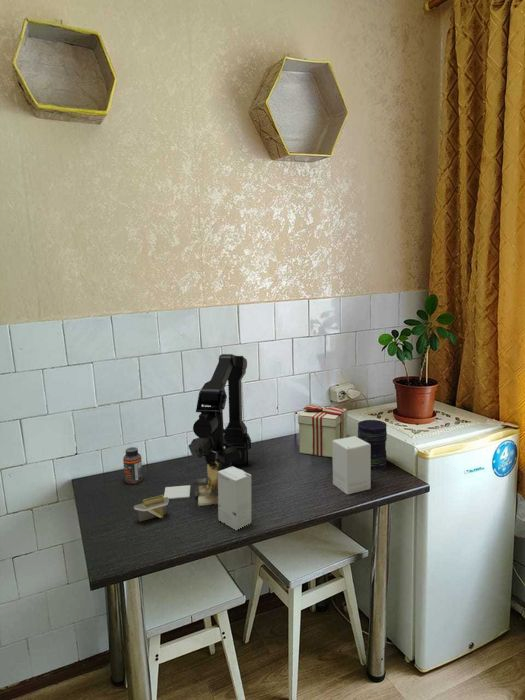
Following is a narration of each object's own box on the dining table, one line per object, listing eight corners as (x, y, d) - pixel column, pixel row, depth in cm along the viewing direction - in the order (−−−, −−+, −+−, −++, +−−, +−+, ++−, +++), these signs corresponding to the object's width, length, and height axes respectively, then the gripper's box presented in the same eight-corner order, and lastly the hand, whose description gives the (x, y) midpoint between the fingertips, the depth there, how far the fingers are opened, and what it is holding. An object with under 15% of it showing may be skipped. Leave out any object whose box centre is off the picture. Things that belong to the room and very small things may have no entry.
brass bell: (224, 478, 161) (223, 456, 160) (235, 483, 157) (234, 461, 155) (198, 487, 154) (197, 465, 153) (209, 493, 150) (208, 470, 149)
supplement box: (371, 489, 156) (371, 444, 154) (347, 495, 153) (346, 449, 150) (355, 478, 164) (355, 435, 162) (332, 483, 161) (331, 439, 158)
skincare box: (218, 521, 140) (215, 471, 138) (234, 513, 144) (232, 464, 142) (237, 531, 134) (234, 480, 132) (253, 523, 138) (251, 473, 136)
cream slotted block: (238, 484, 163) (238, 469, 162) (241, 502, 151) (240, 485, 150) (195, 488, 161) (194, 472, 160) (194, 506, 149) (193, 489, 148)
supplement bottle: (121, 482, 168) (118, 450, 166) (133, 475, 173) (130, 444, 171) (134, 485, 165) (132, 453, 163) (146, 478, 170) (144, 447, 168)
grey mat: (190, 486, 163) (190, 485, 163) (189, 497, 155) (189, 496, 155) (165, 488, 162) (165, 487, 162) (163, 499, 154) (163, 498, 154)
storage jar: (364, 457, 181) (364, 418, 179) (390, 463, 176) (391, 422, 173) (353, 467, 174) (352, 426, 171) (379, 473, 168) (380, 430, 165)
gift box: (349, 442, 198) (349, 400, 195) (339, 459, 181) (339, 413, 178) (308, 438, 204) (307, 397, 201) (294, 454, 187) (293, 410, 184)
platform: (191, 520, 142) (189, 498, 141) (128, 539, 133) (126, 516, 132) (176, 503, 152) (175, 483, 151) (117, 520, 144) (115, 498, 142)
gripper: (175, 426, 154) (178, 474, 157) (210, 441, 140) (213, 493, 143) (204, 418, 161) (207, 464, 164) (241, 431, 147) (243, 481, 150)
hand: (216, 475), depth 155 cm, fingers closed on brass bell, 6 cm apart
